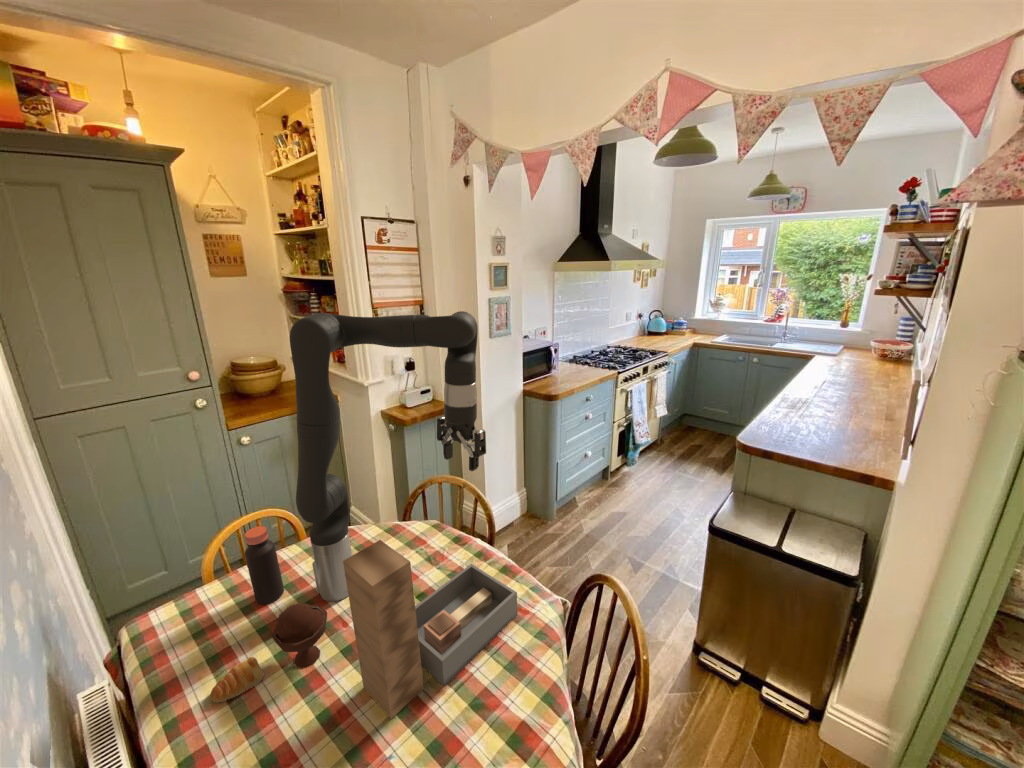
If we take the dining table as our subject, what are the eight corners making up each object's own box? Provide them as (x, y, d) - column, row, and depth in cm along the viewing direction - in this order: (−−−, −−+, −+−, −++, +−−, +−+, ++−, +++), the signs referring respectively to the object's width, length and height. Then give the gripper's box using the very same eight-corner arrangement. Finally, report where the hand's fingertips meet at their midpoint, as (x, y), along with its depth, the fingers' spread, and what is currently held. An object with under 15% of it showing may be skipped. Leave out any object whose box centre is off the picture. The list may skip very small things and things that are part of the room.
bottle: (289, 591, 116) (276, 529, 110) (264, 609, 110) (249, 543, 104) (275, 582, 119) (262, 520, 113) (250, 598, 114) (234, 534, 108)
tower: (395, 660, 95) (379, 539, 86) (423, 688, 89) (410, 561, 80) (363, 687, 90) (342, 561, 80) (391, 719, 83) (372, 586, 74)
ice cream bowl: (343, 643, 100) (334, 591, 96) (307, 687, 90) (295, 631, 86) (307, 631, 103) (297, 580, 99) (268, 672, 93) (255, 617, 89)
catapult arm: (479, 593, 112) (479, 580, 111) (496, 605, 108) (495, 591, 107) (424, 639, 99) (423, 624, 98) (441, 654, 96) (440, 639, 94)
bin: (472, 584, 117) (471, 563, 115) (517, 614, 107) (516, 592, 105) (399, 644, 99) (396, 620, 97) (444, 686, 89) (442, 661, 87)
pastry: (218, 714, 85) (214, 700, 84) (206, 693, 89) (202, 680, 88) (267, 678, 92) (264, 665, 91) (254, 661, 96) (251, 648, 95)
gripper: (427, 397, 99) (429, 460, 104) (471, 412, 91) (470, 479, 95) (451, 390, 105) (451, 450, 109) (494, 403, 96) (493, 468, 101)
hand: (460, 463), depth 102 cm, fingers open, 8 cm apart
